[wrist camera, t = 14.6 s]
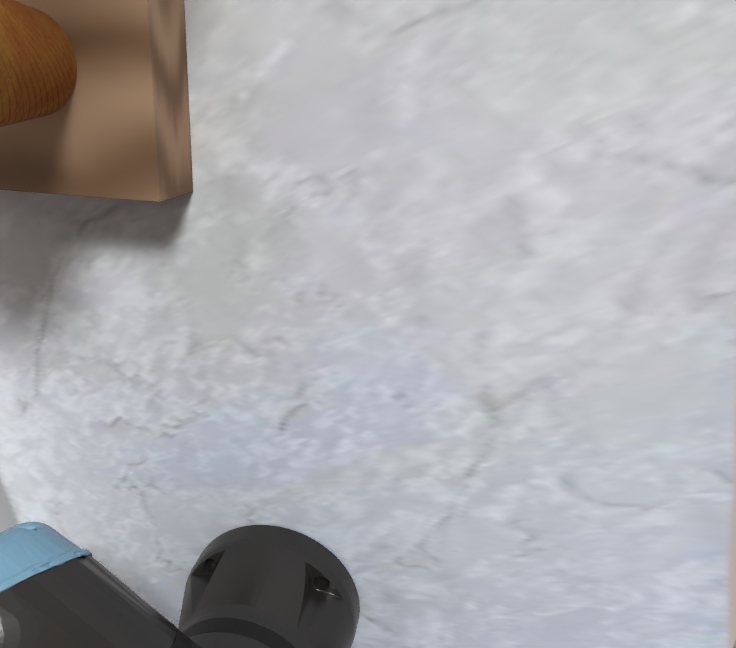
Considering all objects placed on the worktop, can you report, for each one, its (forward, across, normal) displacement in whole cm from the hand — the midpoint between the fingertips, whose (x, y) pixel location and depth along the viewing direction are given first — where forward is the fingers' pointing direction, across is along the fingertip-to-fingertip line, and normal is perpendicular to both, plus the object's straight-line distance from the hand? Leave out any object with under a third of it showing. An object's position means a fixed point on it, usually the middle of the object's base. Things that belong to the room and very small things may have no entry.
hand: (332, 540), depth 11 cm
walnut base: (+35, +26, -8) cm, 44 cm away
